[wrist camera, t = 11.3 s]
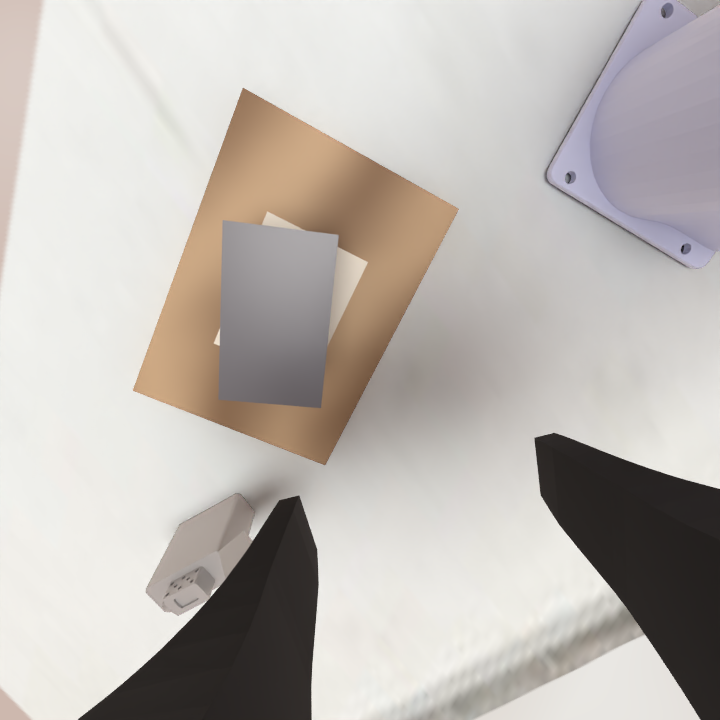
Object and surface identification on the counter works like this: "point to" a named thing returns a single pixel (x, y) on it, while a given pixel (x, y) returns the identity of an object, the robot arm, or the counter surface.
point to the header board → (351, 281)
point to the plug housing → (275, 313)
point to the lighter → (202, 555)
